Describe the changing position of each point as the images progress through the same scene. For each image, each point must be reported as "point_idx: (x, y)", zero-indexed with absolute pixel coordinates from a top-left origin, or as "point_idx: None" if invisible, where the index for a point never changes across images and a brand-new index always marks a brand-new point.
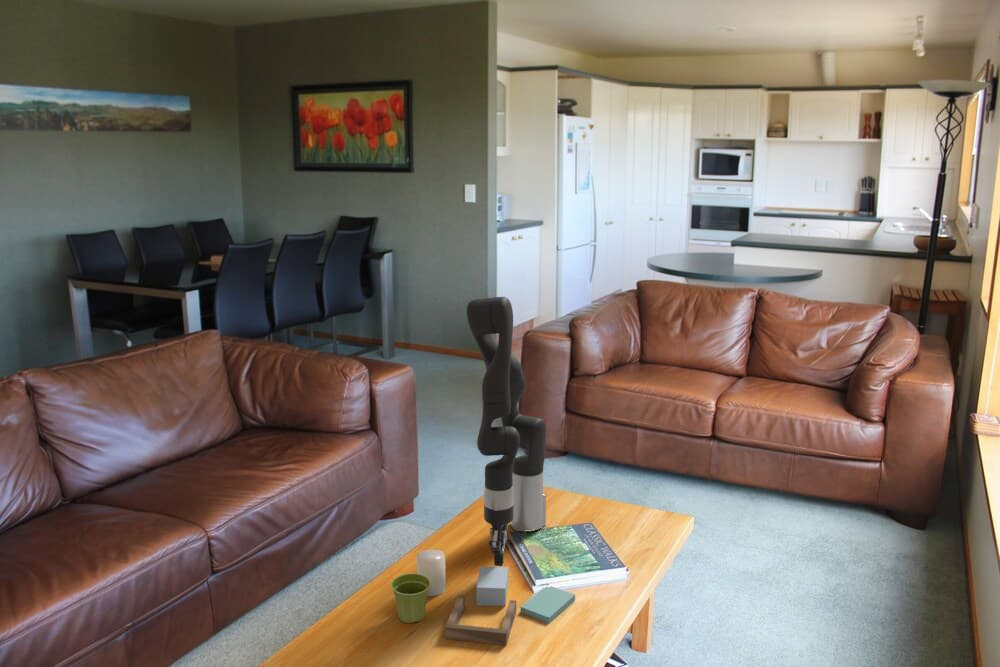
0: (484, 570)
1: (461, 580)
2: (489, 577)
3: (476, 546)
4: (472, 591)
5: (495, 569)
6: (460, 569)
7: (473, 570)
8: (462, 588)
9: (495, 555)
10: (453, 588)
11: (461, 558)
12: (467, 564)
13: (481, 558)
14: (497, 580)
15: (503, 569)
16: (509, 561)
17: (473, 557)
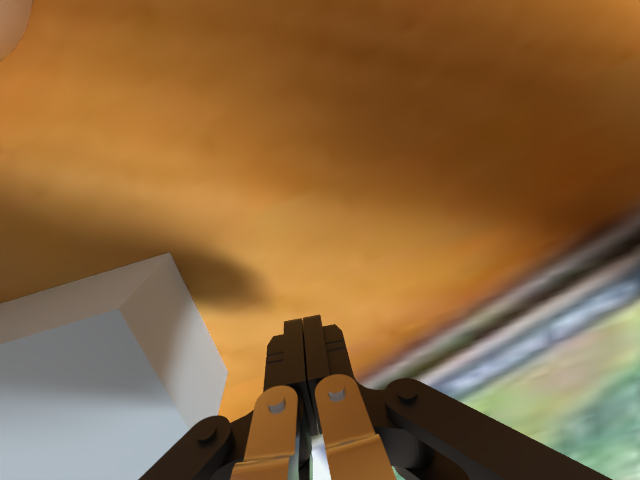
0: (81, 355)
1: (143, 130)
2: (14, 417)
3: (592, 48)
4: (67, 244)
5: (137, 411)
6: (268, 64)
7: (289, 155)
8: (61, 176)
9: (264, 389)
10: (25, 120)
11: (413, 6)
12: (346, 86)
13: (443, 146)
14: (14, 468)
15: (166, 448)
16: (444, 301)
17: (444, 89)
